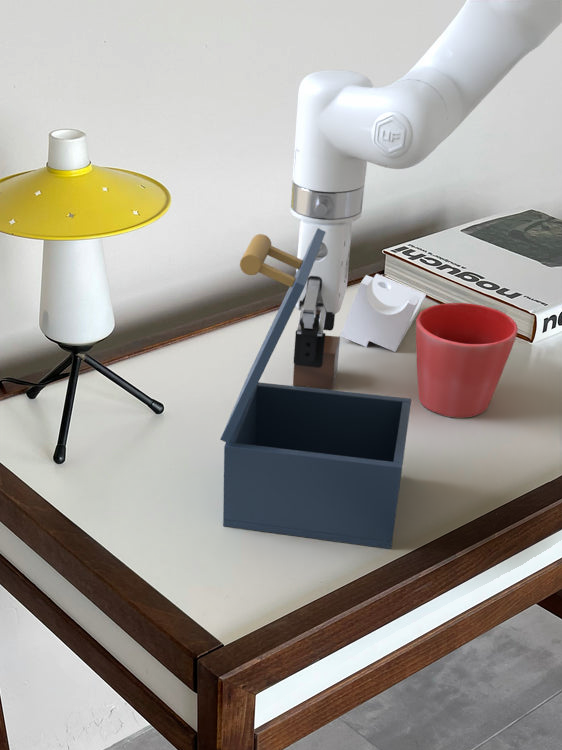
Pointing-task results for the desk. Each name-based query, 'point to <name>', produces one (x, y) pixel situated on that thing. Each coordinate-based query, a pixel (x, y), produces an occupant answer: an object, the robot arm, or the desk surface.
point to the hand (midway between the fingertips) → (314, 346)
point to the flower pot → (461, 356)
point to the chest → (316, 464)
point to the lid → (251, 266)
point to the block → (321, 375)
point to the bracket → (382, 312)
